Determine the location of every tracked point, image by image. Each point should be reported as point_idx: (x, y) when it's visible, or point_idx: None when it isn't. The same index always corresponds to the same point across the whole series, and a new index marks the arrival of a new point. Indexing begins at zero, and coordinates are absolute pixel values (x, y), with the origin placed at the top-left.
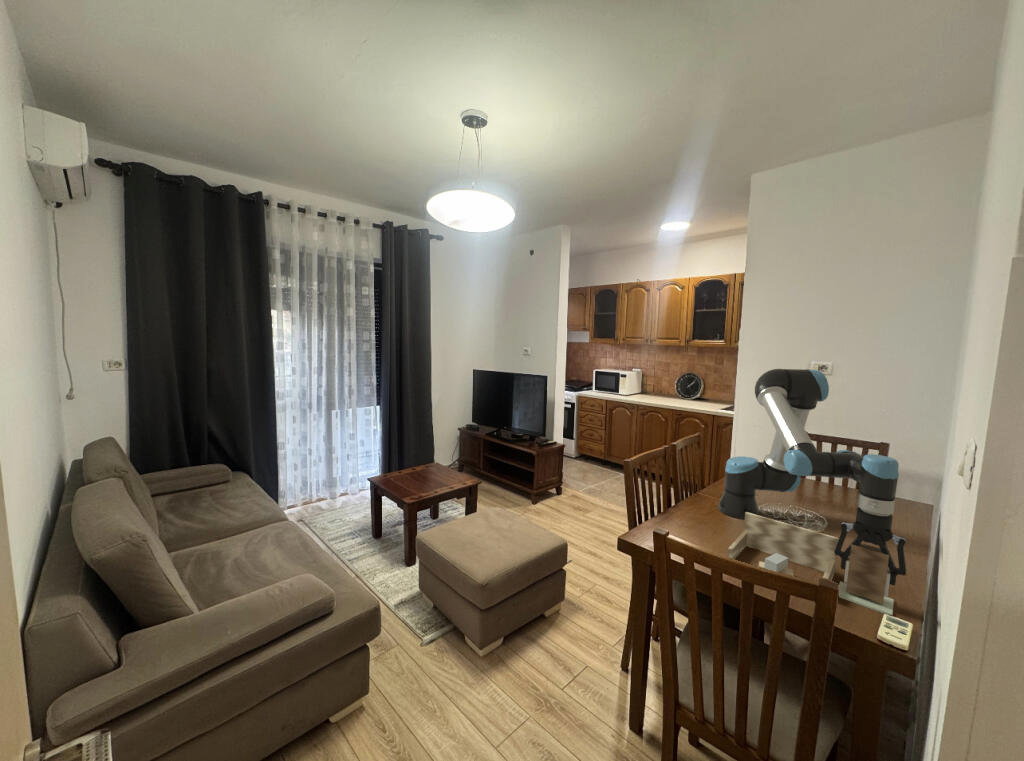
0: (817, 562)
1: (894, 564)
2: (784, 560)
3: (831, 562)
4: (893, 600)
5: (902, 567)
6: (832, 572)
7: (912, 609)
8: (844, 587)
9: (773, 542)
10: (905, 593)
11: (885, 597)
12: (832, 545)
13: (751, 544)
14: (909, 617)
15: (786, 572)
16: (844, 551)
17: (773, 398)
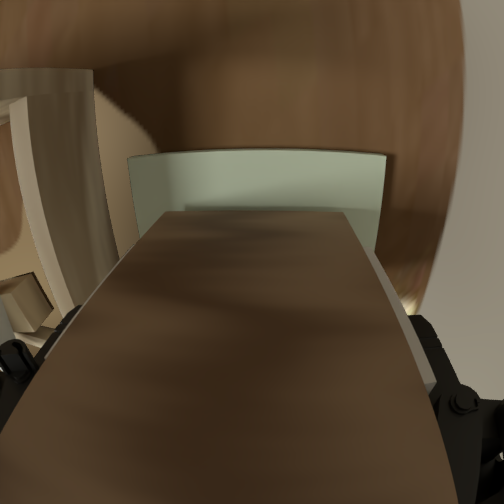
0: (9, 114)
1: (474, 463)
2: None
3: (23, 159)
4: (384, 172)
5: (481, 497)
6: (71, 184)
7: (445, 178)
8: (159, 216)
9: None
10: (423, 14)
11: (349, 166)
12: None
13: None
14: (419, 266)
15: (20, 327)
16: (2, 397)
17: None
